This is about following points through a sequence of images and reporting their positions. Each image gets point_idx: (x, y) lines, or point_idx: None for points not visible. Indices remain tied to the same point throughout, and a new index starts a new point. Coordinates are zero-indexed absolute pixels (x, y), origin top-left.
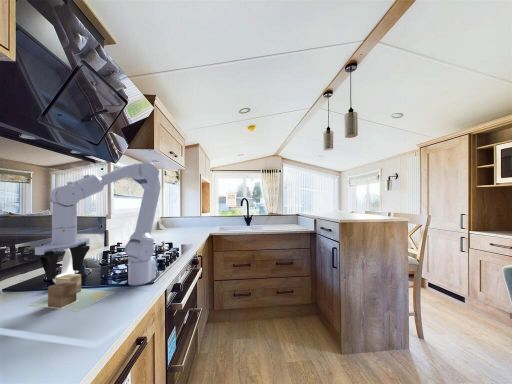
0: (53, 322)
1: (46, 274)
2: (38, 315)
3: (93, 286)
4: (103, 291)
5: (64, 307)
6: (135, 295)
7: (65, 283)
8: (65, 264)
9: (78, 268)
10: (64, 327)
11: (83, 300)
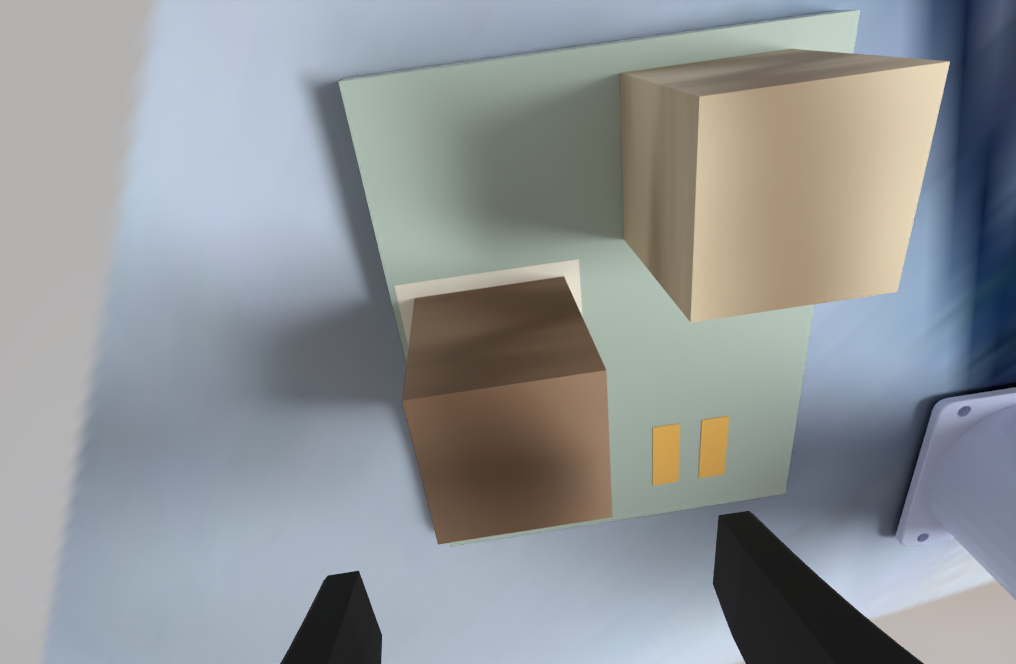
0: (327, 502)
1: (303, 639)
2: (328, 319)
3: (984, 106)
4: (786, 410)
5: None
6: None
7: (555, 452)
8: None
9: (727, 612)
10: None
11: None
